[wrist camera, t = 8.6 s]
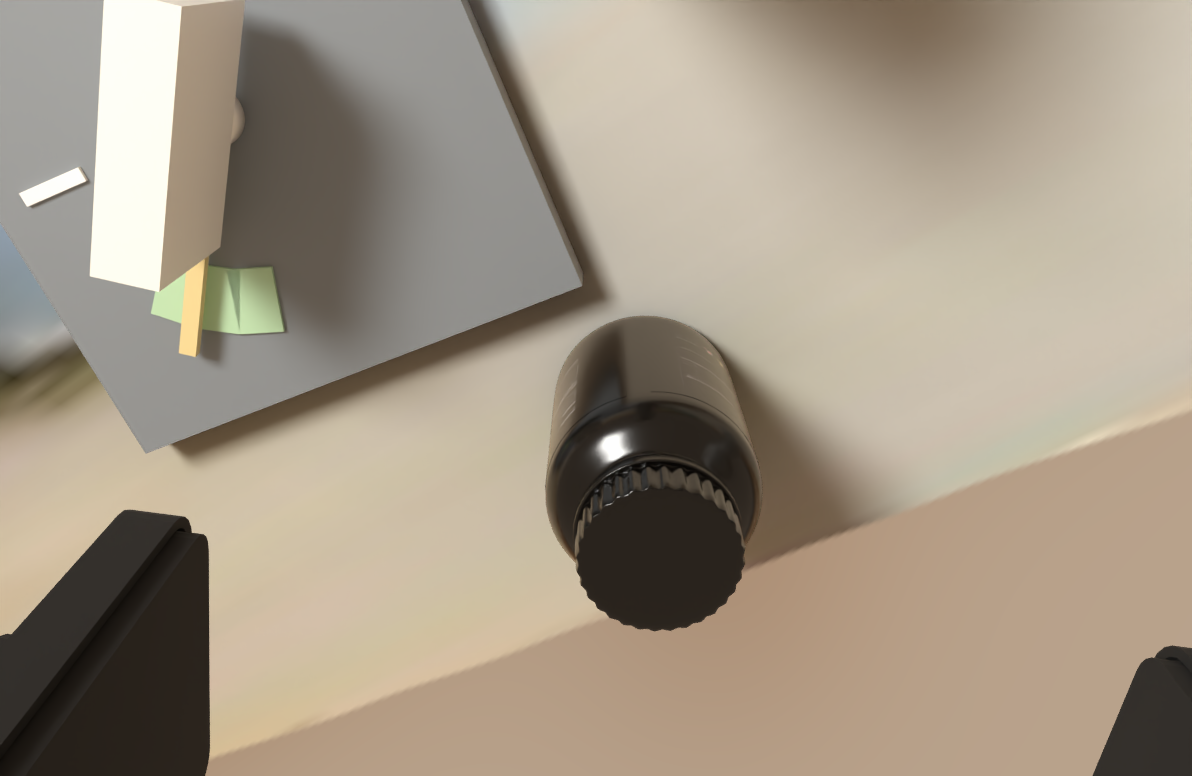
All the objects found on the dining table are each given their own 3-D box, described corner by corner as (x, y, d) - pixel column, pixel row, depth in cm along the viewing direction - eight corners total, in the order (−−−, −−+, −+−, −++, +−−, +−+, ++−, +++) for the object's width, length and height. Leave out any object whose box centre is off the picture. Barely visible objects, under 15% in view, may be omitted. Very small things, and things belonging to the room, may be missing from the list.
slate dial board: (329, -326, 31) (314, -341, 29) (583, 273, 38) (582, 287, 36) (-158, -79, 34) (-194, -80, 32) (161, 436, 41) (144, 455, 39)
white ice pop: (194, -19, 33) (104, -13, 27) (257, -3, 33) (181, 6, 27) (164, 343, 37) (82, 414, 32) (220, 356, 38) (148, 428, 32)
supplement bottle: (631, 504, 42) (635, 703, 31) (519, 382, 40) (481, 546, 29) (770, 405, 40) (828, 578, 29) (661, 273, 38) (678, 404, 27)
